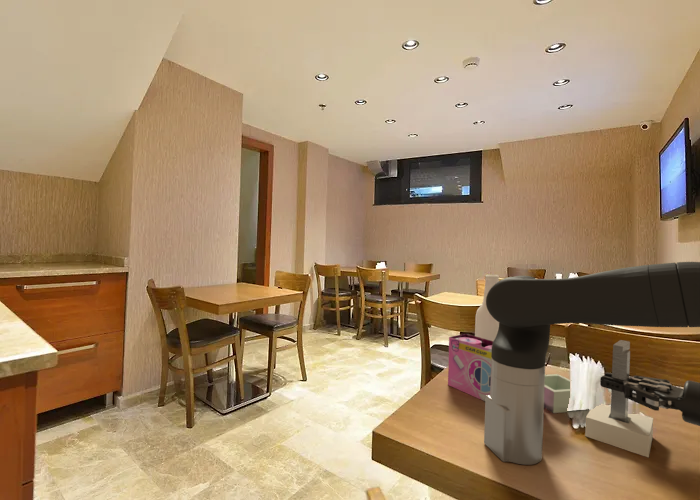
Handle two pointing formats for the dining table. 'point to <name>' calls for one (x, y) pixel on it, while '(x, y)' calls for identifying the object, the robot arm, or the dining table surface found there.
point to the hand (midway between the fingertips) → (603, 379)
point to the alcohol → (486, 314)
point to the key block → (620, 430)
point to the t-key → (621, 373)
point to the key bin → (556, 393)
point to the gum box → (470, 365)
